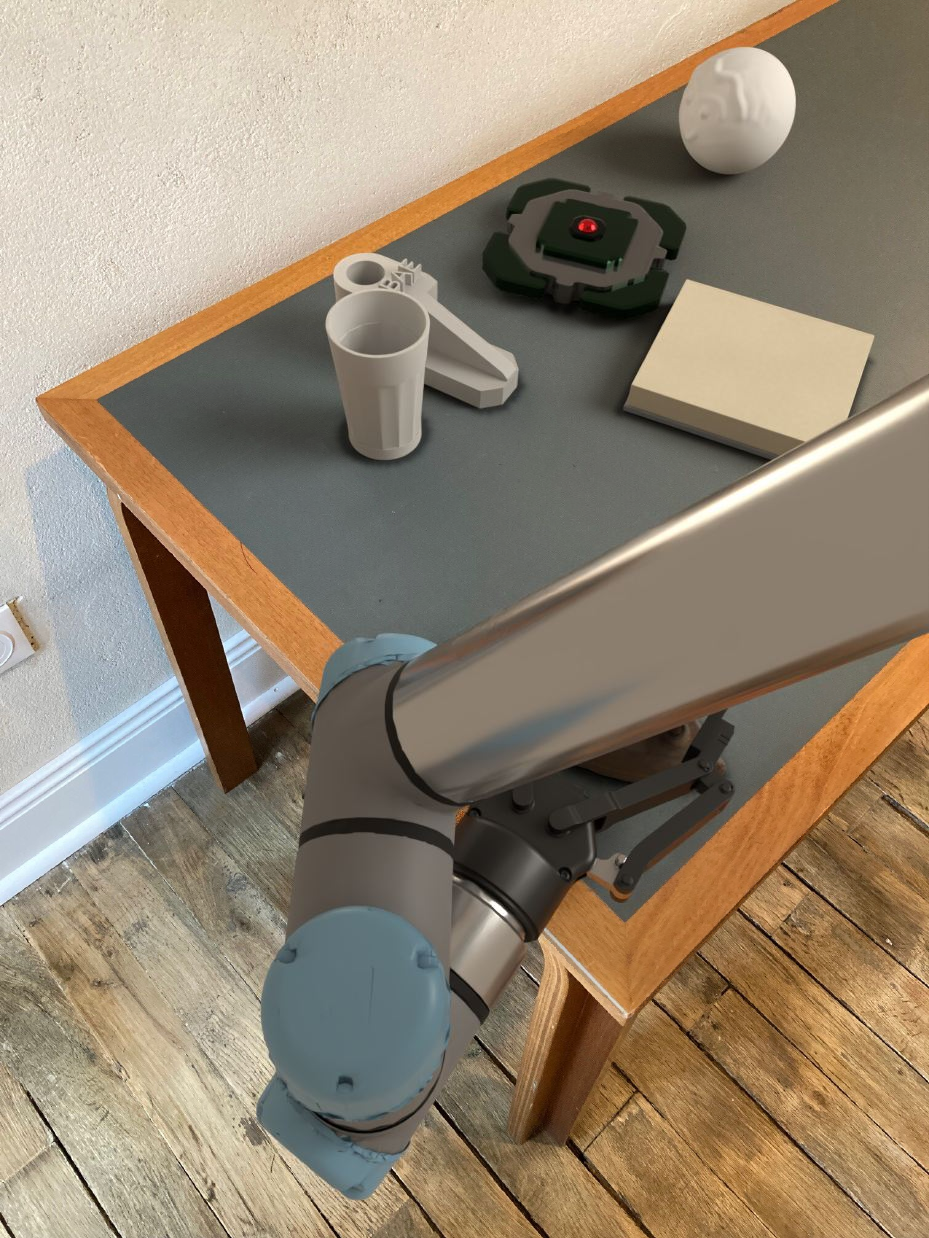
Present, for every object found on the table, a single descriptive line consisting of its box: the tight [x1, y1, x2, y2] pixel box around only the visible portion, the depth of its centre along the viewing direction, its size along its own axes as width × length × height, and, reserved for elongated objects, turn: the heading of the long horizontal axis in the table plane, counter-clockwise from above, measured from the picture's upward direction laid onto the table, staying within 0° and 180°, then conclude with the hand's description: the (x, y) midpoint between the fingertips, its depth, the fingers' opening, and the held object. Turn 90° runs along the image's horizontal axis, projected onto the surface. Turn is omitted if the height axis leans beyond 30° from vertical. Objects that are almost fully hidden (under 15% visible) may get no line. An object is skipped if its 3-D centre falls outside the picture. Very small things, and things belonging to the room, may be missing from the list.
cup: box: [325, 288, 430, 461], centre depth 77 cm, size 8×8×12 cm
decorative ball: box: [678, 46, 797, 175], centre depth 100 cm, size 12×12×12 cm
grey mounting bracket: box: [332, 252, 519, 409], centre depth 84 cm, size 6×18×8 cm, turn 59°
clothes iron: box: [576, 719, 727, 783], centre depth 62 cm, size 14×10×11 cm
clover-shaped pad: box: [481, 177, 687, 321], centre depth 94 cm, size 18×18×5 cm
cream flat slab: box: [622, 278, 875, 461], centre depth 85 cm, size 18×16×3 cm
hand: (660, 640), depth 64 cm, fingers closed on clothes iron, 11 cm apart
